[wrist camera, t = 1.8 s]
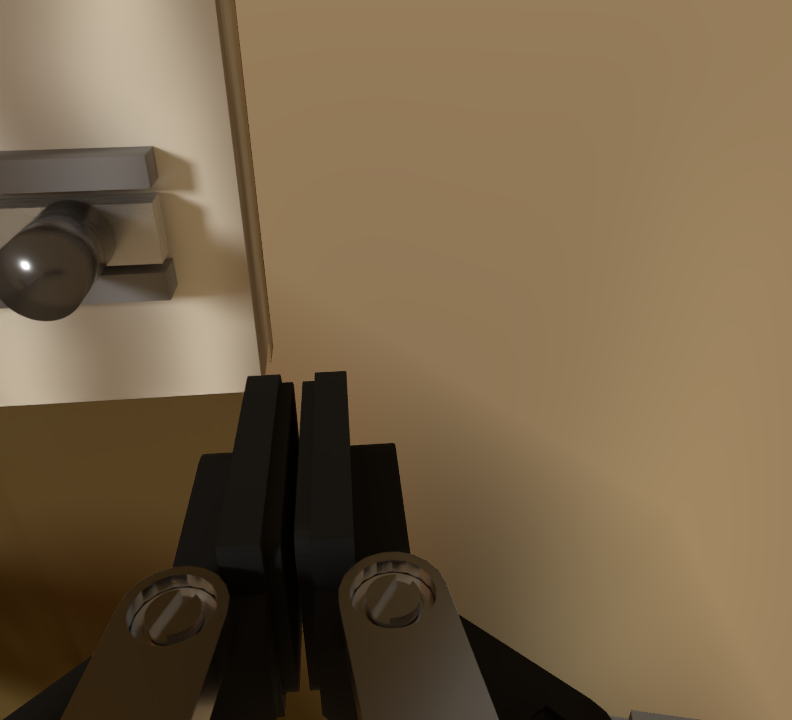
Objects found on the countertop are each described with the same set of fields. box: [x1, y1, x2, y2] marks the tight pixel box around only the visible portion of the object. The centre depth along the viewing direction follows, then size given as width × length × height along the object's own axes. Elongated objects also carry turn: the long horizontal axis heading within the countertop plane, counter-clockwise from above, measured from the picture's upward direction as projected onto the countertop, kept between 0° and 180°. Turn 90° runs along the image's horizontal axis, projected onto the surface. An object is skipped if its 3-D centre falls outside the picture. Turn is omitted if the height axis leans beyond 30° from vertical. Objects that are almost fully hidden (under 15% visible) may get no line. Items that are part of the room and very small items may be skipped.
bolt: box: [0, 192, 169, 321], centre depth 21 cm, size 8×2×5 cm, turn 91°
